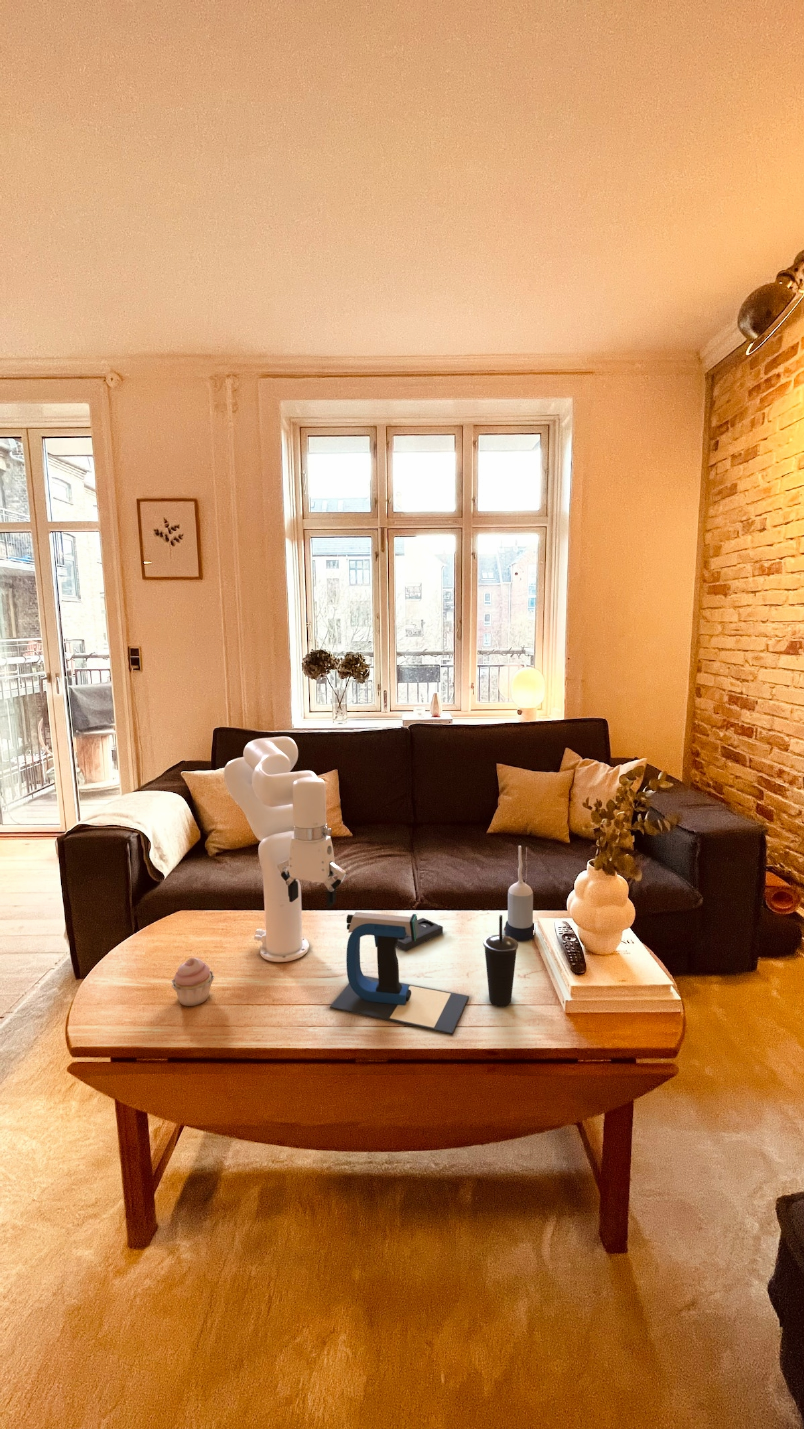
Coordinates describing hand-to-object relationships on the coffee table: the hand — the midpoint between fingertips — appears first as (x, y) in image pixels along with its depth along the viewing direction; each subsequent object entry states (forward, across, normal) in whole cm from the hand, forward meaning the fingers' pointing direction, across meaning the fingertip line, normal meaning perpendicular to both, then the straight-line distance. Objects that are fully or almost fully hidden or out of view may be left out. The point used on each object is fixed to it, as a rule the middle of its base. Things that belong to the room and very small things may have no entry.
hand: (312, 902), depth 140 cm
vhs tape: (+20, -15, -29) cm, 39 cm away
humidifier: (+20, -43, -40) cm, 62 cm away
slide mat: (+20, -22, +1) cm, 30 cm away
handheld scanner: (+20, -18, +1) cm, 27 cm away
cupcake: (+20, +23, +14) cm, 34 cm away
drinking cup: (+20, -43, -7) cm, 48 cm away
